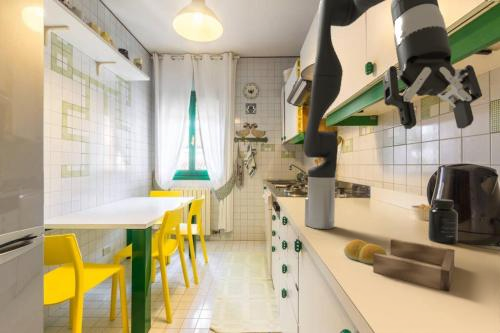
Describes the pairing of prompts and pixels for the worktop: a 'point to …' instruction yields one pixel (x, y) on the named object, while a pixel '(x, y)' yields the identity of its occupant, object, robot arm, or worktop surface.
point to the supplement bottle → (443, 222)
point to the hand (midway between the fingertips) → (437, 126)
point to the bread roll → (362, 251)
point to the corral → (417, 264)
